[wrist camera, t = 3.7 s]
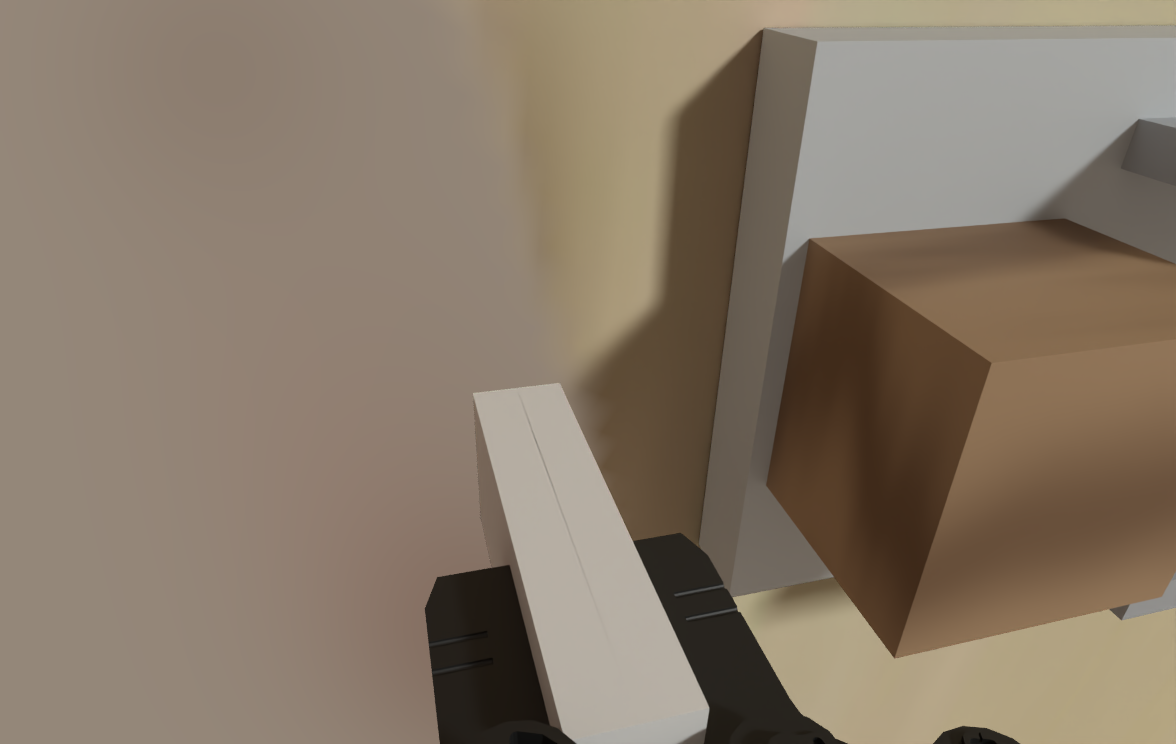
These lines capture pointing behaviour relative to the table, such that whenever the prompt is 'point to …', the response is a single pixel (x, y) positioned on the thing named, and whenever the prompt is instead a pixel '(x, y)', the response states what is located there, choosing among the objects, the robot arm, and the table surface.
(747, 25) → the table surface
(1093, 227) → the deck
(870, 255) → the block
